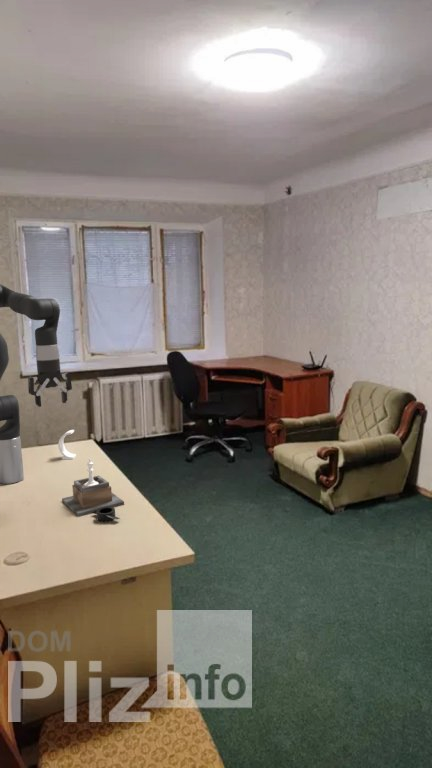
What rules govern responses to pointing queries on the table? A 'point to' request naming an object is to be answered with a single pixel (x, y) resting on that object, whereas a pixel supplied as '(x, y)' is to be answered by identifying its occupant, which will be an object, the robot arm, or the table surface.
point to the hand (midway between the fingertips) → (51, 404)
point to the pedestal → (91, 496)
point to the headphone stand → (62, 449)
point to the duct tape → (105, 514)
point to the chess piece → (90, 475)
